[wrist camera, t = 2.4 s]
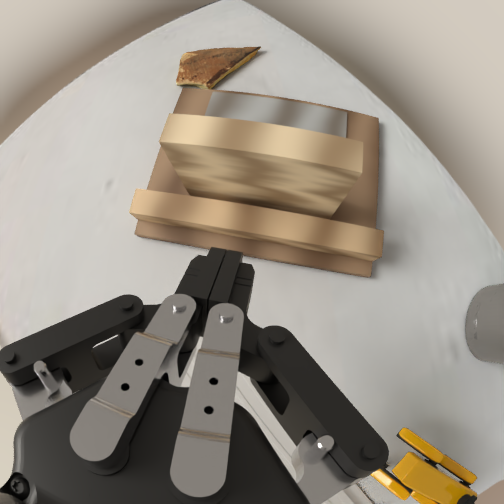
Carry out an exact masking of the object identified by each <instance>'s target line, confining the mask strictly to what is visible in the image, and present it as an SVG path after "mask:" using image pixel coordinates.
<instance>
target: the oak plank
mask: <svg viewBox="0 0 504 504" xmlns="http://www.w3.org/2000/svg"><path fill="white" fill-rule="evenodd" d="M159 143H160V144H161V146H162V148H163V150H164V152H165V153H166V155H167V157H168V159H169V160H170V162H171V164H172V166H173V167H174V169H175V171H176V173H177V174H178V176H179V178H180V180H181V181H182V183H183V185H184V187H185V188H186V190H187V192H188V193H189V195H190V196H195V197H202V198H208V199H215V200H221V201H228V202H234V203H240V204H246V205H252V206H258V207H264V208H270V209H275V210H281V211H287V212H292V213H298V214H303V215H308V216H314V217H319V218H324V219H330V218H331V217H332V215H333V214H334V212H335V211H336V210H337V208H338V207H339V205H340V204H341V203H342V201H343V200H344V198H345V197H346V196H347V194H348V193H349V191H350V190H351V188H352V187H353V186H354V184H355V183H356V181H357V180H358V178H359V177H360V175H361V174H362V166H363V142H361V141H357V140H352V139H348V138H344V137H339V136H335V135H330V134H325V133H320V132H315V131H310V130H305V129H300V128H294V127H288V126H282V125H276V124H269V123H262V122H255V121H248V120H240V119H231V118H222V117H212V116H200V115H187V114H170V113H169V116H168V118H167V121H166V124H165V126H164V129H163V132H162V135H161V137H160V140H159Z"/></svg>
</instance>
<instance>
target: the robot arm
mask: <svg viewBox="0 0 504 504" xmlns="http://www.w3.org/2000/svg"><path fill="white" fill-rule="evenodd" d="M242 258H243V252H239V251H234V250H227V249H222V248H217V247H211V248H210V250H209V253H208V255H207V256H202V255H198V256H197V257H195V258H194V259H193V260H191V262H190V264H189V266H188V269H187V270H186V272H185V275H184V276H183V278H182V280H181V282H180V284H179V286H178V288H177V290H176V292H175V294H174V295H171V296H169V297H167V298H166V299H165V300H164V301H163V303H162V304H158V305H143V302H142V300H141V299H140V298H139V297H137V296H134V295H122V296H119V297H117V298H115V299H112V300H110V301H108V302H105V303H103V304H101V305H98V306H96V307H94V308H91V309H89V310H87V311H85V312H82V313H80V314H78V315H75V316H73V317H71V318H69V319H66V320H64V321H62V322H59V323H57V324H55V325H53V326H50V327H48V328H46V329H43V330H41V331H39V332H37V333H34V334H32V335H30V336H28V337H25V338H23V339H21V340H19V341H16V342H14V343H12V344H10V345H7V346H5V347H4V348H3V349H1V351H0V371H1V373H2V374H3V375H4V377H5V378H6V380H7V382H8V383H9V384H10V386H11V387H12V390H13V392H14V396H15V399H16V402H17V405H18V408H19V411H20V414H21V416H22V419H23V422H21V424H20V425H19V427H18V428H17V430H16V433H15V436H14V464H13V470H12V474H11V476H10V478H9V480H8V481H7V482H6V483H5V485H4V486H3V487H1V488H0V504H322V503H323V502H325V501H326V500H328V499H329V498H331V497H332V496H334V495H335V494H337V493H338V492H340V491H341V490H344V489H346V488H348V487H350V486H352V485H354V484H355V483H357V482H359V481H360V480H362V479H364V478H365V477H367V476H369V475H370V474H372V473H373V472H375V471H377V470H378V469H380V468H381V467H382V466H384V464H385V463H386V461H387V459H388V456H389V450H388V446H387V444H386V443H385V441H384V440H383V439H382V438H381V437H380V436H379V434H378V433H377V432H376V431H375V430H374V429H373V428H372V426H371V425H370V424H369V423H368V422H367V421H366V420H365V418H364V417H363V416H362V415H361V414H360V413H359V412H358V410H357V409H356V408H355V407H354V406H353V405H352V404H351V402H350V401H349V400H348V399H347V398H346V397H345V395H344V394H343V393H342V392H341V391H340V390H339V388H338V387H337V386H336V385H335V384H334V383H333V381H332V380H331V379H330V378H329V377H328V376H327V374H326V373H325V372H324V371H323V370H322V369H321V367H320V366H319V365H318V364H317V363H316V362H315V360H314V359H313V358H312V357H311V356H310V354H309V353H308V352H307V351H306V350H305V349H304V347H303V346H302V345H301V344H300V343H299V341H298V340H297V339H296V338H295V337H294V335H293V334H292V333H291V332H290V331H289V330H287V329H286V328H284V327H281V326H268V327H265V328H264V329H263V328H260V327H258V326H256V325H255V324H253V323H252V322H251V321H250V320H249V319H248V317H247V312H248V307H249V303H250V298H251V293H252V286H253V280H254V274H255V271H254V269H253V266H252V265H251V264H246V263H242ZM465 331H466V339H467V343H468V346H469V348H470V351H471V352H472V354H473V355H474V356H475V357H476V358H478V359H479V360H482V361H487V362H493V363H500V364H504V283H503V284H497V285H492V286H487V287H485V288H483V289H481V290H480V291H479V292H478V293H477V294H476V295H475V297H474V298H473V300H472V302H471V304H470V306H469V309H468V312H467V317H466V327H465ZM117 334H118V336H117V337H115V338H113V339H111V340H109V341H107V342H105V343H102V344H100V345H98V346H96V347H94V346H95V345H96V344H98V343H100V342H102V341H105V340H107V339H109V338H111V337H113V336H115V335H117ZM200 337H203V340H202V345H201V349H199V350H198V352H197V356H196V360H195V364H194V369H193V373H192V378H191V382H190V386H189V387H181V385H182V382H183V379H184V377H185V375H186V373H187V370H188V368H189V366H190V364H191V361H192V359H193V357H194V355H195V352H196V349H197V343H198V340H199V338H200ZM93 347H94V348H93ZM238 372H240V373H242V374H244V375H246V376H248V377H250V381H251V383H252V385H253V386H254V388H255V389H256V390H257V392H258V393H259V395H260V396H261V398H262V399H263V401H264V402H265V404H266V405H267V406H268V408H269V409H270V411H271V412H272V414H273V415H274V416H275V418H276V419H277V421H278V422H279V423H280V425H281V426H282V428H283V429H284V430H285V432H286V433H287V434H288V436H289V437H290V439H291V440H292V441H293V443H294V444H295V445H296V449H295V450H294V451H293V453H292V456H291V462H292V465H293V467H294V469H295V472H296V481H295V480H294V478H293V477H292V475H291V474H290V473H289V471H288V470H287V468H286V467H285V465H284V464H283V462H282V461H281V459H280V458H279V456H278V454H277V453H276V451H275V450H274V448H273V447H272V445H271V444H270V442H269V441H268V439H267V437H266V436H265V434H264V433H263V431H262V429H261V428H260V426H259V425H258V423H257V421H256V420H255V419H254V417H253V416H252V415H251V414H250V413H249V412H248V411H247V410H246V409H245V408H244V407H242V406H241V405H239V404H237V403H236V402H234V400H235V392H236V383H237V375H238ZM75 392H76V393H75ZM73 393H74V394H73ZM71 394H72V395H71Z"/></svg>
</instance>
